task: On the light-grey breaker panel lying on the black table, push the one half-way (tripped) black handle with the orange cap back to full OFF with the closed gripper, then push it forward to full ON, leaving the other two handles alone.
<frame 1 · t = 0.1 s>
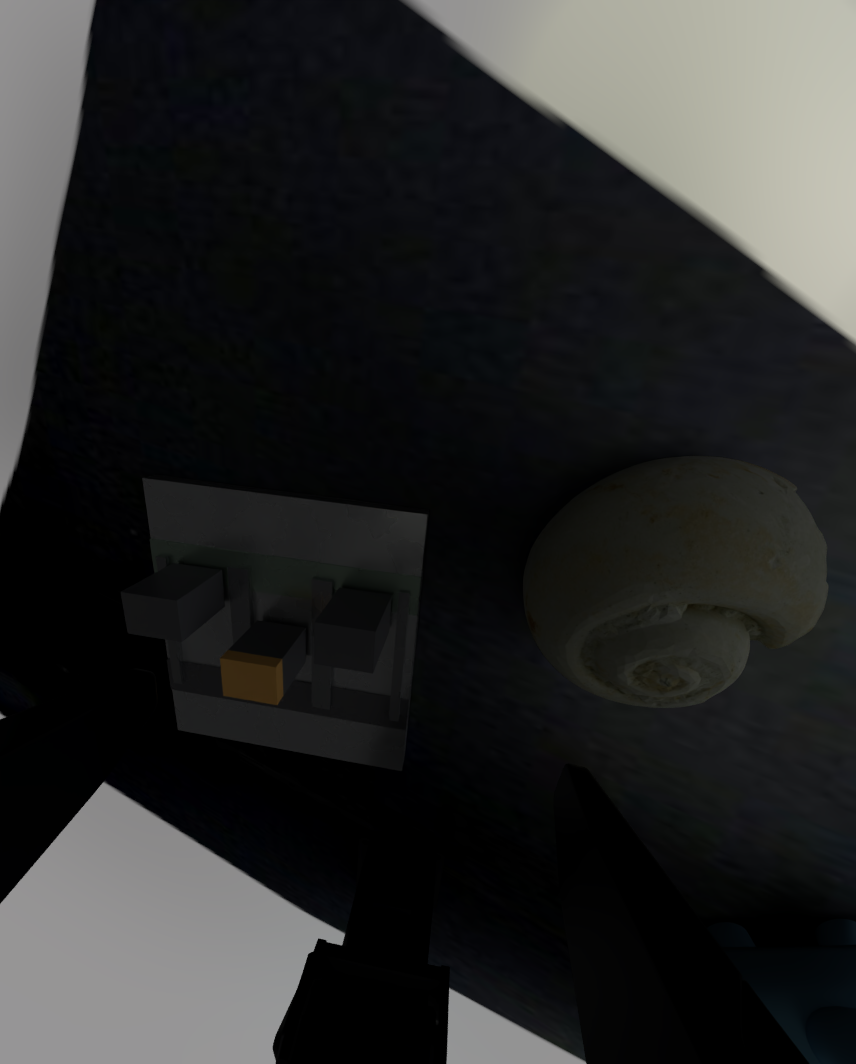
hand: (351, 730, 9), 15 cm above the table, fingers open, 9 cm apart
panel: (291, 629, 26), on the table
tripped handle: (266, 659, 23), point 3 cm above the table, slide at 3.0 cm
teakettle: (796, 961, 30), on the table
seashell: (624, 549, 22), on the table
handle 1: (355, 627, 21), point 3 cm above the table, slide at 6.0 cm
handle 2: (177, 599, 22), point 3 cm above the table, slide at 6.0 cm
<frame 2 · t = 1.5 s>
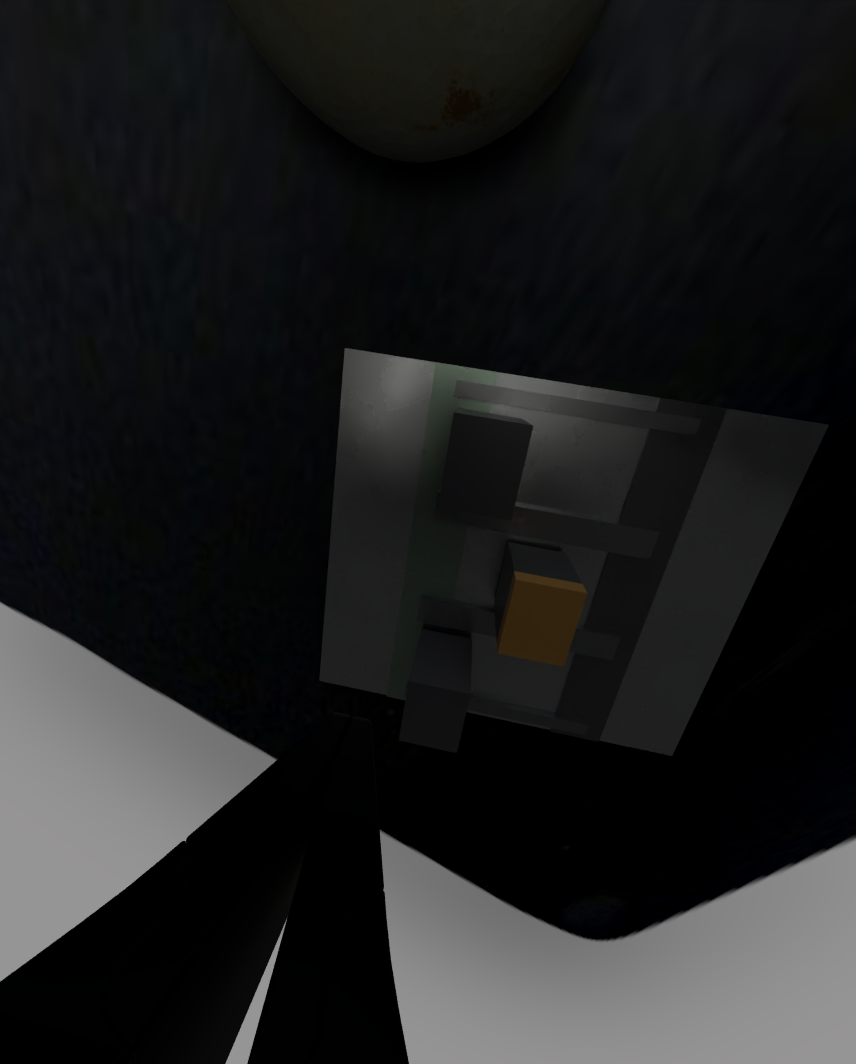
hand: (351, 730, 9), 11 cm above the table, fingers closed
panel: (525, 566, 19), on the table
tripped handle: (533, 599, 16), point 3 cm above the table, slide at 3.0 cm
handle 1: (483, 459, 14), point 3 cm above the table, slide at 6.0 cm
handle 2: (437, 686, 18), point 3 cm above the table, slide at 6.0 cm
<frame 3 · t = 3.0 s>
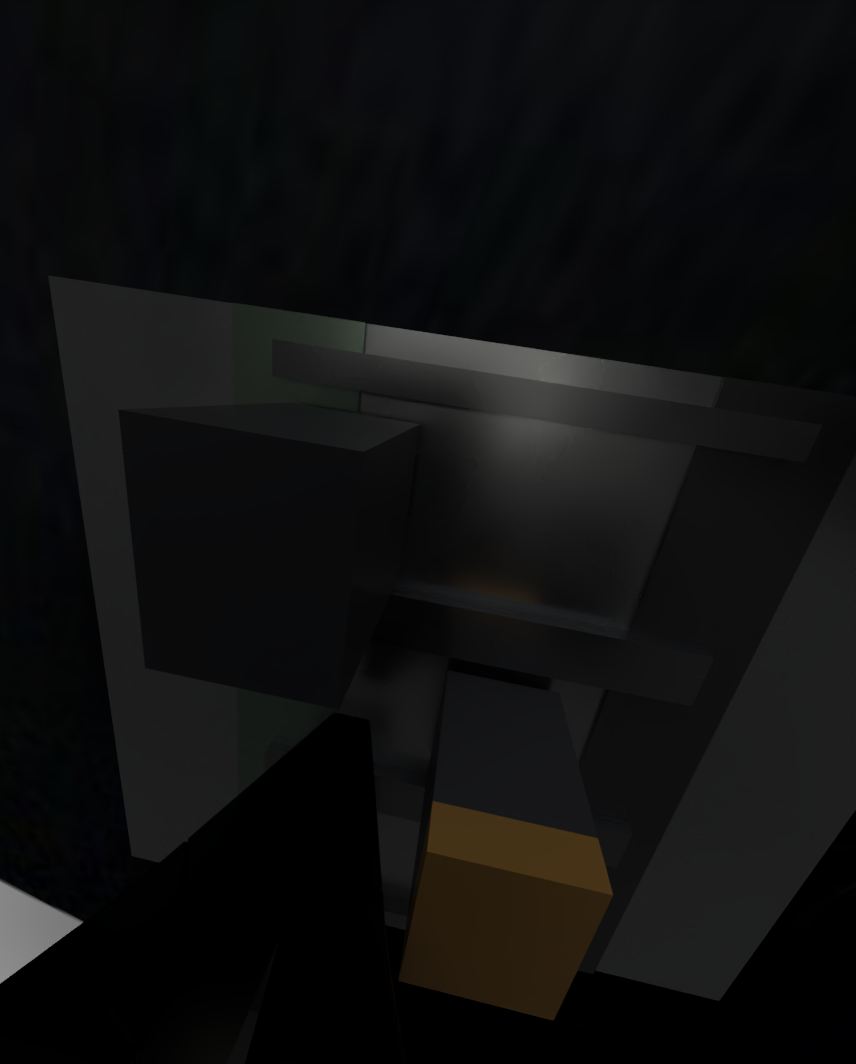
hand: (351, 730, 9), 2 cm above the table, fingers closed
panel: (459, 689, 10), on the table
tripped handle: (491, 814, 7), point 3 cm above the table, slide at 2.2 cm, touching gripper
handle 1: (309, 522, 6), point 3 cm above the table, slide at 6.0 cm
handle 2: (287, 929, 9), point 3 cm above the table, slide at 6.0 cm
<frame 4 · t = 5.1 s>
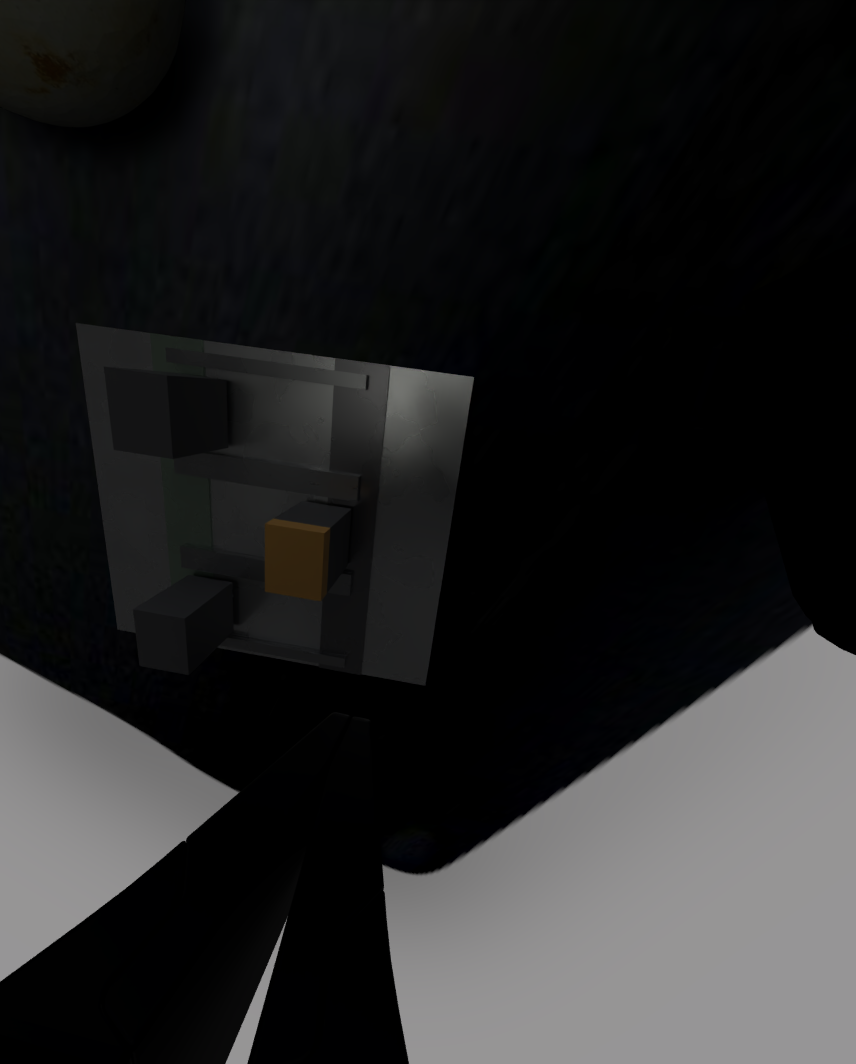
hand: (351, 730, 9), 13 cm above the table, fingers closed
panel: (277, 517, 21), on the table
tripped handle: (311, 547, 18), point 3 cm above the table, slide at 0.0 cm
handle 1: (174, 412, 17), point 3 cm above the table, slide at 6.0 cm
handle 2: (188, 621, 20), point 3 cm above the table, slide at 6.0 cm
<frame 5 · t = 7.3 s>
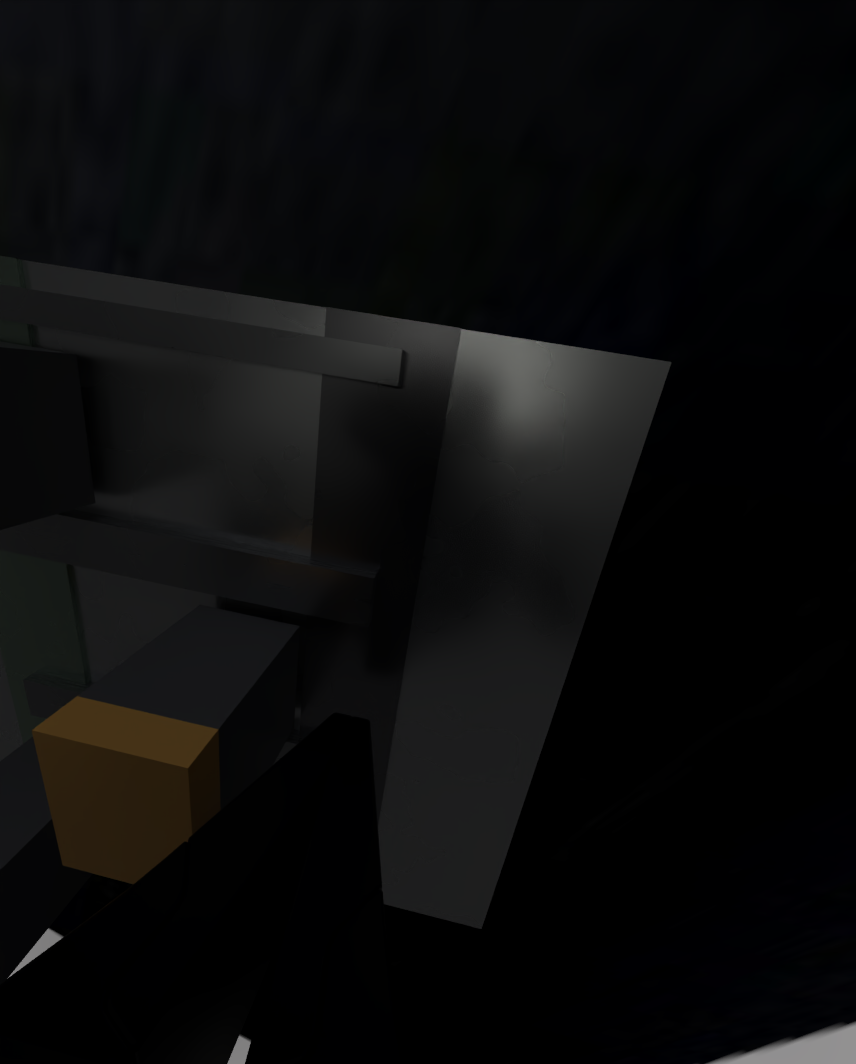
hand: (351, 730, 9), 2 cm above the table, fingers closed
panel: (214, 625, 11), on the table
tripped handle: (198, 728, 8), point 3 cm above the table, slide at 1.3 cm, touching gripper
handle 2: (25, 840, 10), point 3 cm above the table, slide at 6.0 cm
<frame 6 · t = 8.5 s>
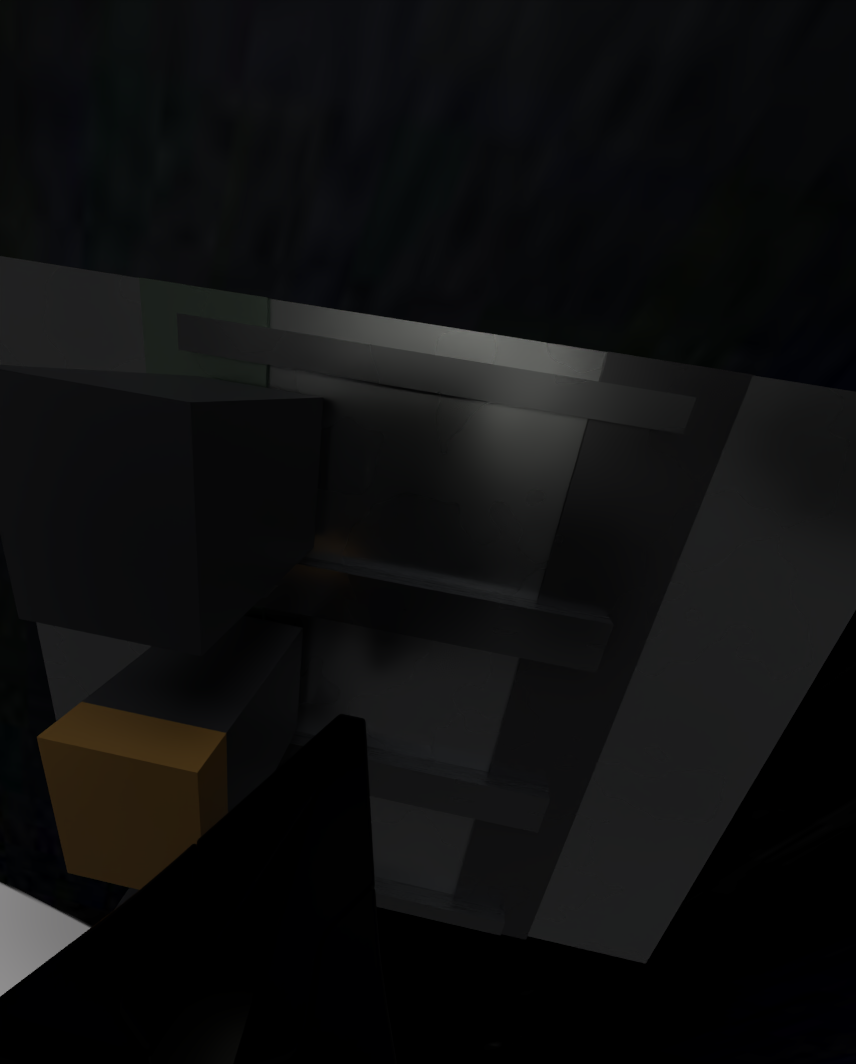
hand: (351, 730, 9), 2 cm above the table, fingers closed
panel: (390, 662, 11), on the table
tripped handle: (202, 732, 8), point 3 cm above the table, slide at 6.1 cm, touching gripper
handle 1: (199, 487, 6), point 3 cm above the table, slide at 6.0 cm
handle 2: (215, 893, 10), point 3 cm above the table, slide at 6.0 cm
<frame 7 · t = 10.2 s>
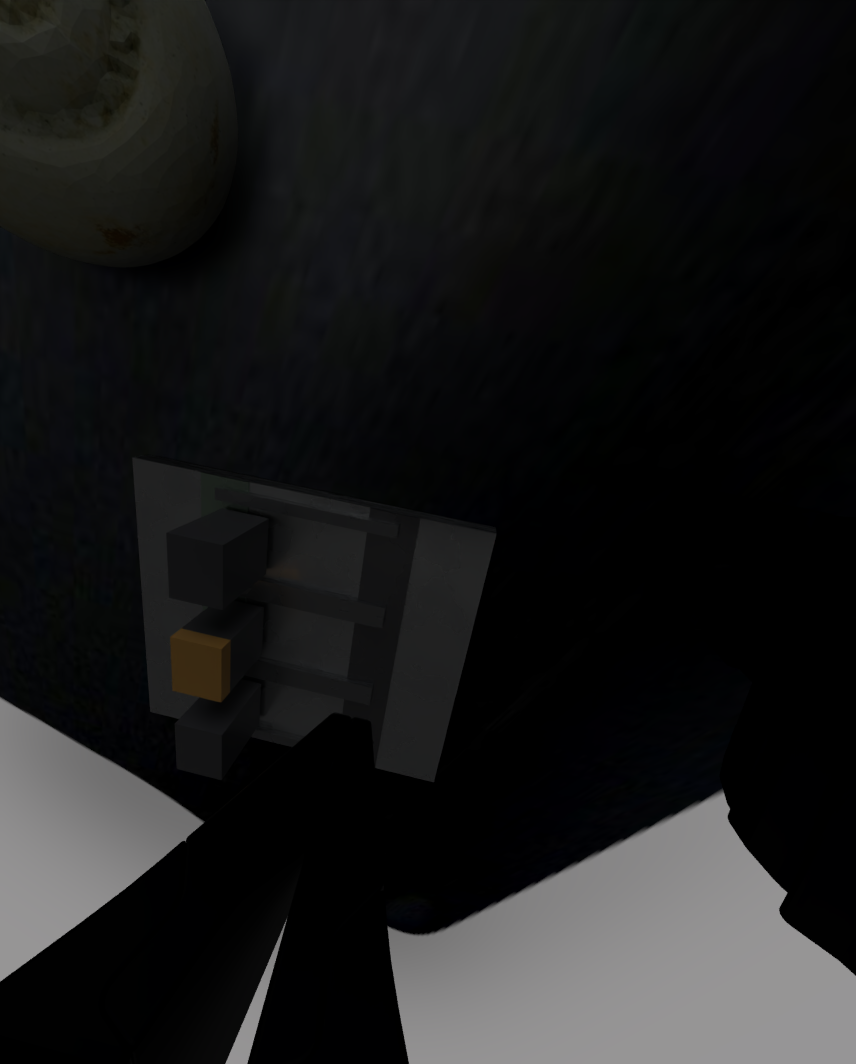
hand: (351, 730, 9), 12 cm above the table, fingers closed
panel: (305, 626, 23), on the table
tripped handle: (220, 646, 20), point 3 cm above the table, slide at 6.0 cm
seashell: (120, 132, 17), on the table
handle 1: (222, 555, 18), point 3 cm above the table, slide at 6.0 cm
handle 2: (221, 723, 22), point 3 cm above the table, slide at 6.0 cm
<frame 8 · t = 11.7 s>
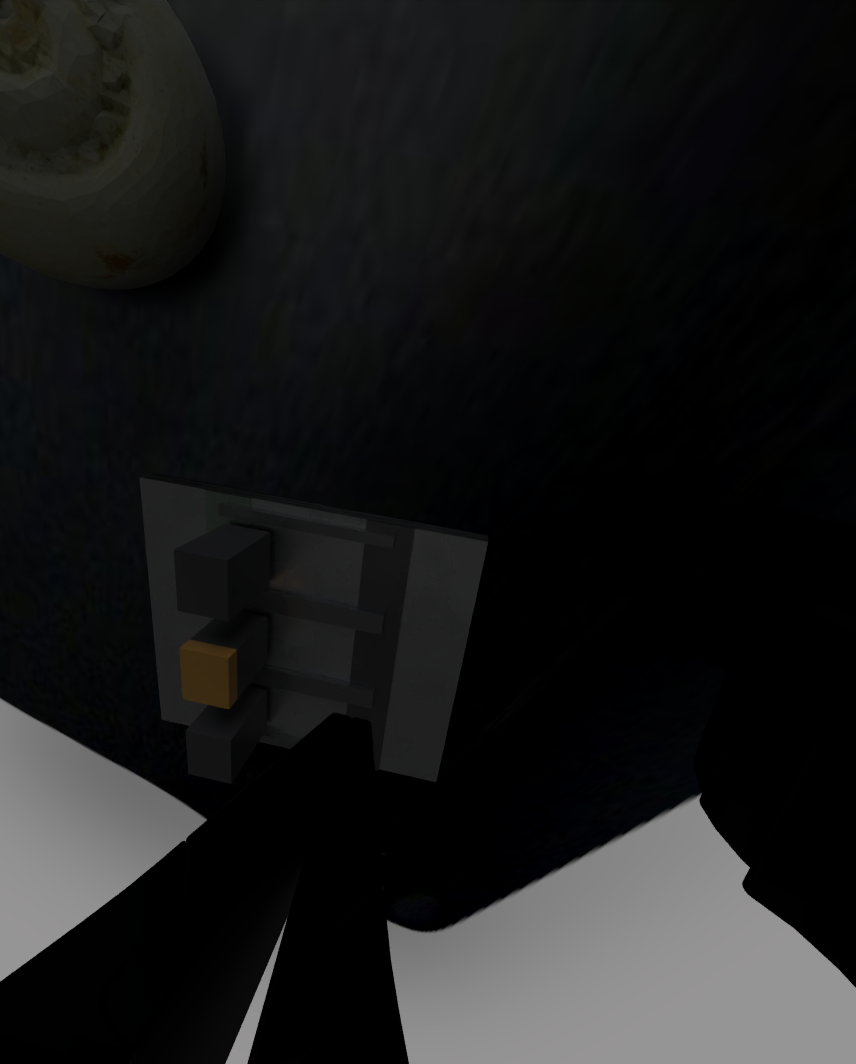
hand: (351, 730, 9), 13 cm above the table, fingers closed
panel: (308, 633, 24), on the table
tripped handle: (227, 655, 21), point 3 cm above the table, slide at 6.0 cm
seashell: (115, 162, 18), on the table
handle 1: (226, 569, 19), point 3 cm above the table, slide at 6.0 cm
handle 2: (229, 729, 23), point 3 cm above the table, slide at 6.0 cm
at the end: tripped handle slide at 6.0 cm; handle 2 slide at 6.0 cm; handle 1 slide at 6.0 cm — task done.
